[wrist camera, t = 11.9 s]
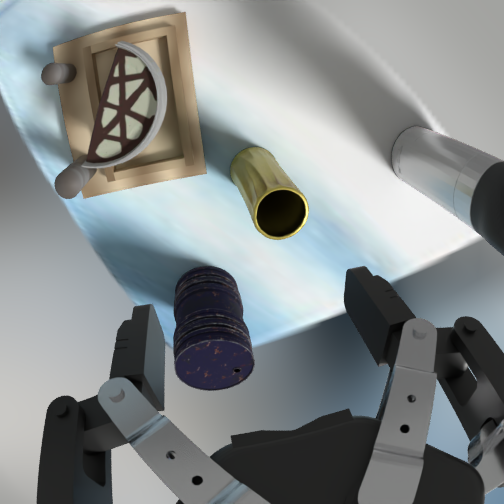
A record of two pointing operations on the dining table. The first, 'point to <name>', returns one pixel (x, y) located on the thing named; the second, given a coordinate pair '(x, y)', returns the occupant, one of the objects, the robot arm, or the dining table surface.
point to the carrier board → (90, 92)
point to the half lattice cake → (127, 108)
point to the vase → (269, 194)
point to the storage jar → (210, 331)
